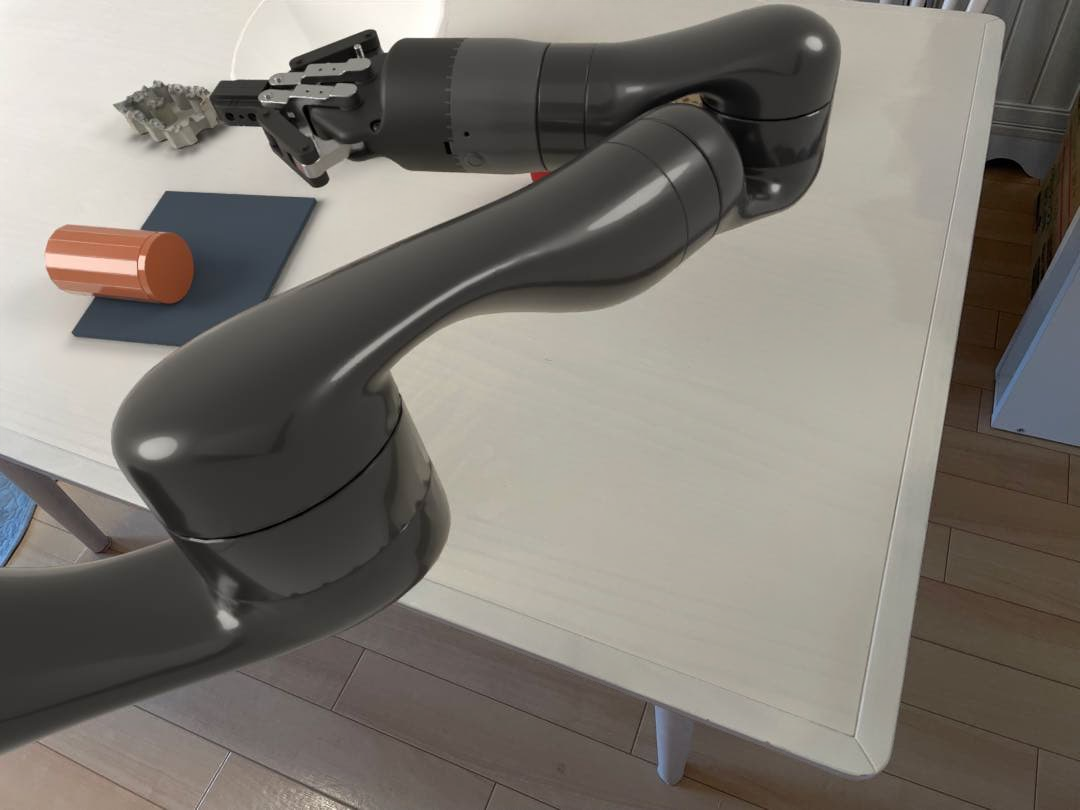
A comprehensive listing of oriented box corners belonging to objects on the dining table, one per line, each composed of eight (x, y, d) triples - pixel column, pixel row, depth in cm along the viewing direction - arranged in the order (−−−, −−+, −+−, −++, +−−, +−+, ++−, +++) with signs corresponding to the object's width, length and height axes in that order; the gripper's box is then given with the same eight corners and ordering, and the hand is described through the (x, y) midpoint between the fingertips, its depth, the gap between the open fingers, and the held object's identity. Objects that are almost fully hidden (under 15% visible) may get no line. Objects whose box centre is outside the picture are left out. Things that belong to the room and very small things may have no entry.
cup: (133, 269, 70) (31, 259, 72) (171, 318, 75) (76, 307, 78) (169, 217, 73) (70, 209, 76) (203, 267, 78) (110, 258, 81)
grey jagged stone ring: (228, 119, 93) (212, 88, 90) (180, 157, 90) (162, 126, 87) (172, 95, 98) (155, 65, 94) (125, 130, 95) (105, 100, 91)
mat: (240, 352, 72) (237, 348, 72) (74, 336, 76) (70, 332, 76) (317, 201, 83) (315, 197, 82) (168, 194, 87) (165, 190, 86)
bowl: (461, 181, 82) (434, 81, 72) (258, 197, 84) (206, 103, 75) (477, 56, 94) (457, -44, 84) (300, 74, 97) (260, -21, 87)
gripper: (491, -17, 47) (235, -12, 51) (430, 124, 40) (138, 117, 44) (511, 94, 53) (281, 90, 57) (461, 233, 46) (202, 218, 50)
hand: (219, 102), depth 51 cm, fingers closed
